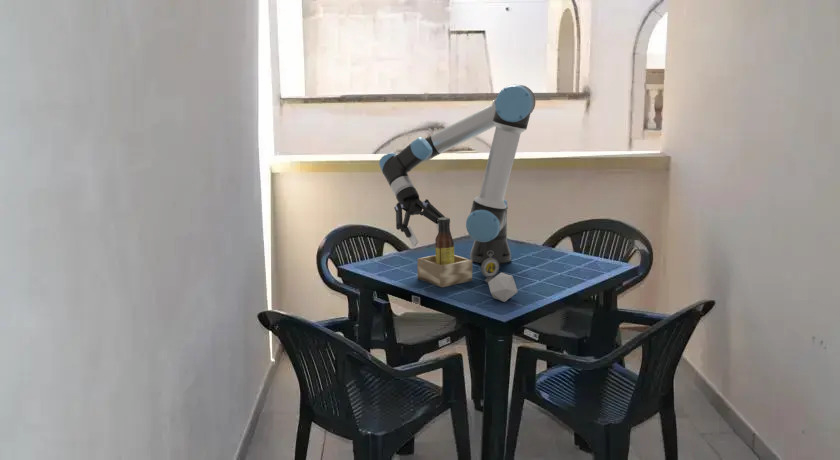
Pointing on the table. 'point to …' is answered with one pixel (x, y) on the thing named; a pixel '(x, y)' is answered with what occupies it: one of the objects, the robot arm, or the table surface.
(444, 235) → the sauce bottle
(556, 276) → the table surface
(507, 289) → the die
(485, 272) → the pocket watch
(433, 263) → the crate
